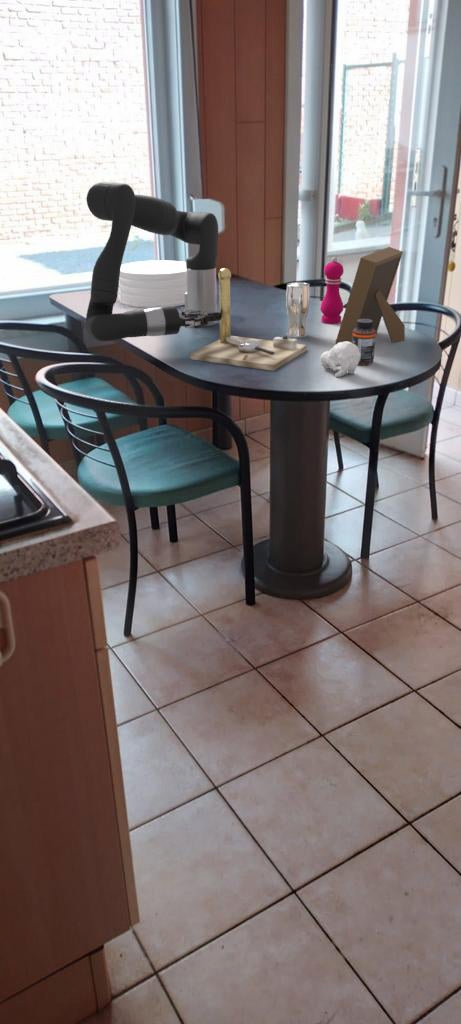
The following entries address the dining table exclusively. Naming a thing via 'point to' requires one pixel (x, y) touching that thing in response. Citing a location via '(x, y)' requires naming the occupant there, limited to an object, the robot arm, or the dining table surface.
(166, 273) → the plate stack
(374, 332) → the supplement bottle
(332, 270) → the pepper mill
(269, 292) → the dining table surface
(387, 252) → the photo frame
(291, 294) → the beer glass
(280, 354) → the stand
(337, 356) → the white animal figurine
